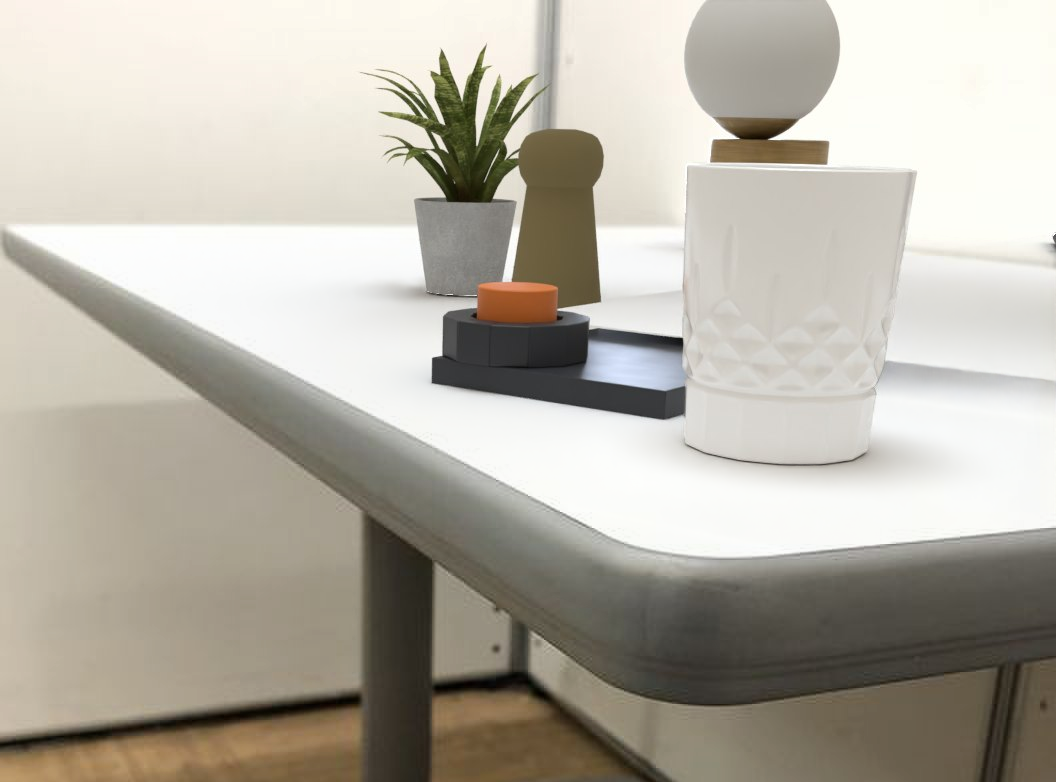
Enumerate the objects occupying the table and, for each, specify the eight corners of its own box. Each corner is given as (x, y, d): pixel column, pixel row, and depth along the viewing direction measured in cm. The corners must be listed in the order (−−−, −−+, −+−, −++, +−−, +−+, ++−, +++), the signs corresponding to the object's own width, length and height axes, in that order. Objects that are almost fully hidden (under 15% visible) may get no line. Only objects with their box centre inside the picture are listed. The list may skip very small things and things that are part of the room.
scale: (584, 349, 75) (587, 291, 74) (809, 378, 67) (816, 314, 66) (414, 382, 64) (415, 315, 63) (660, 421, 57) (666, 346, 56)
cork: (497, 317, 86) (502, 127, 83) (516, 306, 92) (522, 128, 88) (595, 322, 85) (605, 130, 81) (608, 310, 90) (618, 130, 87)
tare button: (507, 318, 66) (508, 280, 65) (571, 325, 64) (573, 286, 63) (460, 325, 63) (461, 285, 63) (526, 333, 61) (528, 292, 61)
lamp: (760, 262, 127) (787, -42, 119) (640, 249, 137) (658, -32, 129) (854, 254, 137) (885, -27, 129) (736, 243, 147) (757, -18, 138)
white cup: (624, 442, 53) (641, 162, 49) (745, 417, 58) (767, 162, 55) (807, 482, 47) (839, 170, 44) (922, 449, 53) (958, 169, 49)
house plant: (359, 277, 106) (359, 45, 101) (541, 280, 107) (551, 50, 102) (353, 300, 93) (353, 33, 88) (562, 303, 93) (574, 39, 88)
